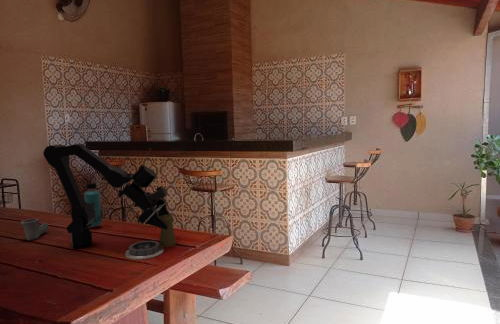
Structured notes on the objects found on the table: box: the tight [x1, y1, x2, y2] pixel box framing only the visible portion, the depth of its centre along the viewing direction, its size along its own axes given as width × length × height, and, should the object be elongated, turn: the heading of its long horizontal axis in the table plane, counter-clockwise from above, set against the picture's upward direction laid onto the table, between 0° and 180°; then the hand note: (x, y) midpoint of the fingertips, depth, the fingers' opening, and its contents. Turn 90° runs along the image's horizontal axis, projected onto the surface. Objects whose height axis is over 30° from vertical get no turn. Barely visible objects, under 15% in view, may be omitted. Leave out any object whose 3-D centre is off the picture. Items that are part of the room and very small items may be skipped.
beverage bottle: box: [83, 182, 103, 227], centre depth 165 cm, size 6×7×20 cm
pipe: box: [20, 218, 49, 241], centre depth 155 cm, size 6×13×8 cm, turn 175°
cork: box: [159, 214, 177, 248], centre depth 140 cm, size 6×6×11 cm
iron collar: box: [124, 240, 165, 261], centre depth 132 cm, size 13×13×3 cm
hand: (170, 224), depth 140 cm, fingers open, 9 cm apart
